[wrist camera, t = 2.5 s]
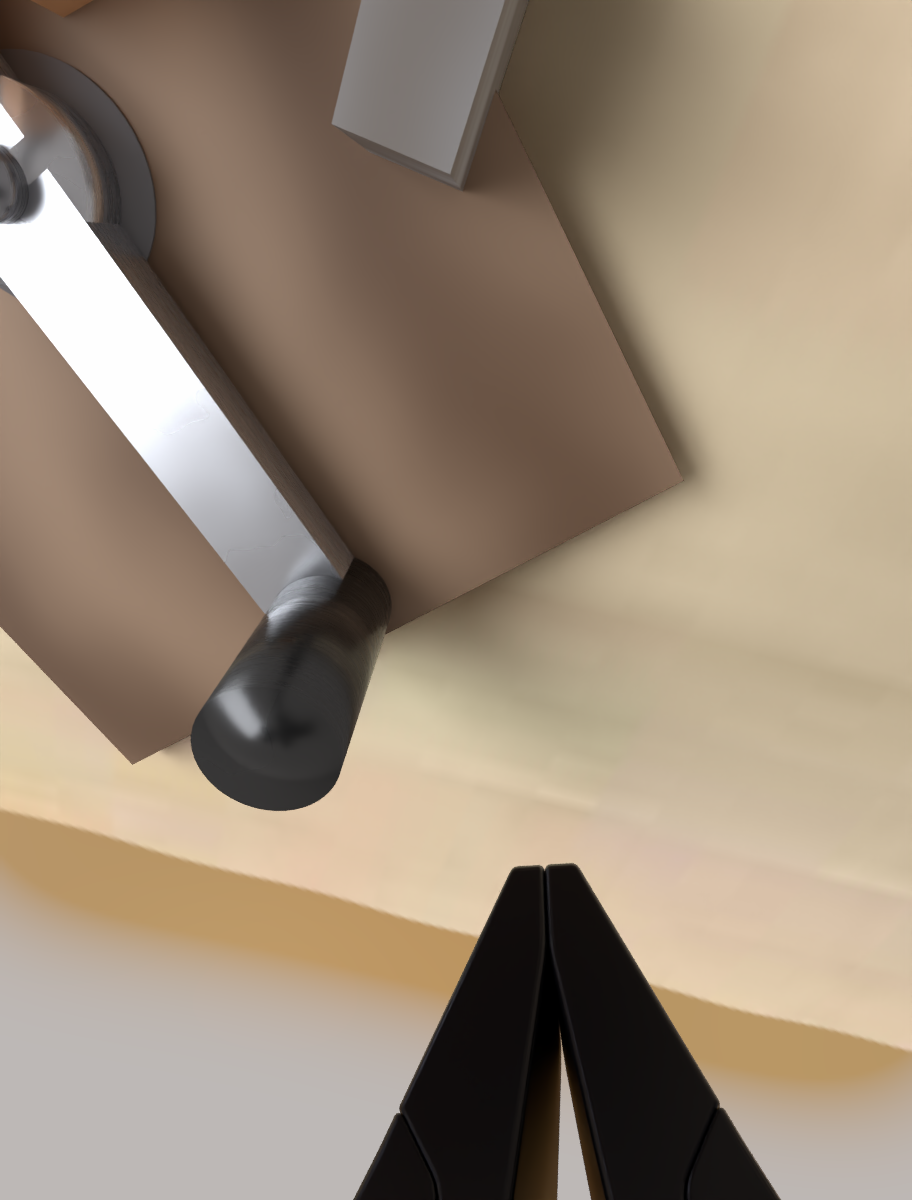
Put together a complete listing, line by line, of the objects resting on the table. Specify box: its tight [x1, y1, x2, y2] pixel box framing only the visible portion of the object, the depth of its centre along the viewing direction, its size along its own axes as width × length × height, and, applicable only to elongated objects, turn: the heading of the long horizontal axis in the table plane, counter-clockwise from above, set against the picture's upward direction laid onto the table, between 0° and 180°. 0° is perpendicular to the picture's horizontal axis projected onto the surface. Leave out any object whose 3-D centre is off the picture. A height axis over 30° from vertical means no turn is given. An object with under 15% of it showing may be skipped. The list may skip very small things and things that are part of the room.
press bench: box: [0, 0, 684, 765], centre depth 15 cm, size 20×17×4 cm
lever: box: [0, 53, 392, 811], centre depth 13 cm, size 4×17×6 cm, turn 31°
